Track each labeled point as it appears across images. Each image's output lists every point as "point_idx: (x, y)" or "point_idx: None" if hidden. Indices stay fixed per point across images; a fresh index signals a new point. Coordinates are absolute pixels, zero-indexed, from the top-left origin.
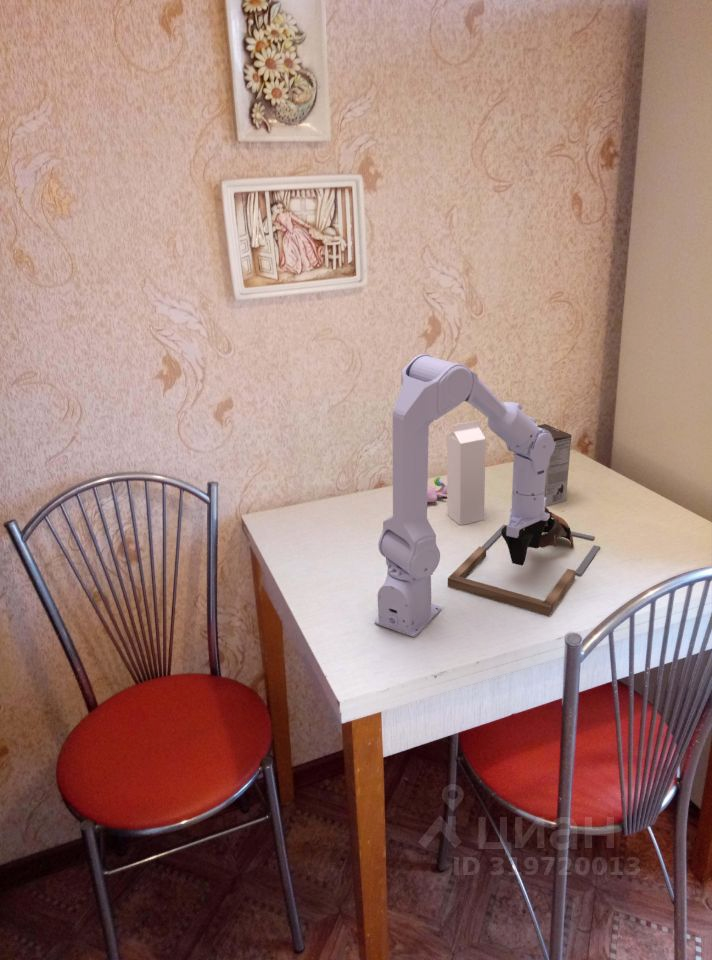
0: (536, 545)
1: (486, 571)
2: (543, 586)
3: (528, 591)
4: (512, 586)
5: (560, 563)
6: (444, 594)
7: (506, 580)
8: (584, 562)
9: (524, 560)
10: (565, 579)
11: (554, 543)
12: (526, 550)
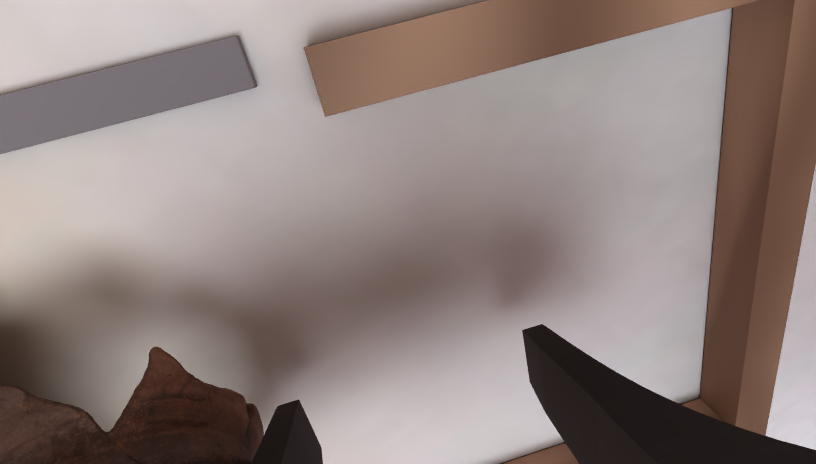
0: (299, 421)
1: None
2: (512, 149)
3: (602, 176)
4: (601, 259)
5: (208, 236)
6: (778, 383)
7: (568, 310)
8: (59, 117)
9: (553, 341)
10: (474, 35)
11: (160, 373)
12: (615, 392)
